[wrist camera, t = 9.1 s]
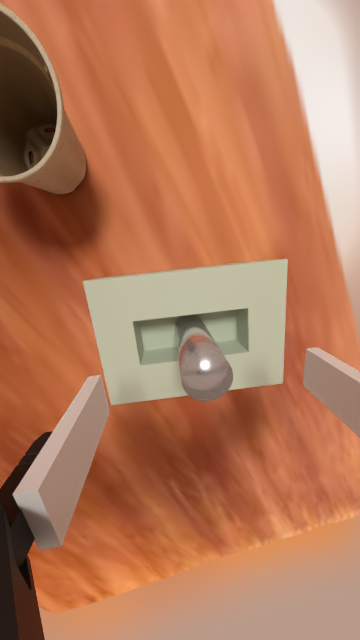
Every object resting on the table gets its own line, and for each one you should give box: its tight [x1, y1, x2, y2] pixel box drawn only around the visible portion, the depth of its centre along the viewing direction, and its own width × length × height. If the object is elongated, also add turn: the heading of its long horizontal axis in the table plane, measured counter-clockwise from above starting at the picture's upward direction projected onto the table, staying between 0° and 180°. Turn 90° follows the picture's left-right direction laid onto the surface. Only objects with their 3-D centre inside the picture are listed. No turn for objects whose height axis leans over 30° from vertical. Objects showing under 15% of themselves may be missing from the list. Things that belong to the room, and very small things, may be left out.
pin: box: [175, 314, 233, 401], centre depth 20 cm, size 4×4×12 cm
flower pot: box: [0, 3, 86, 194], centre depth 17 cm, size 9×9×9 cm
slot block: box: [83, 259, 288, 405], centre depth 24 cm, size 14×20×5 cm
